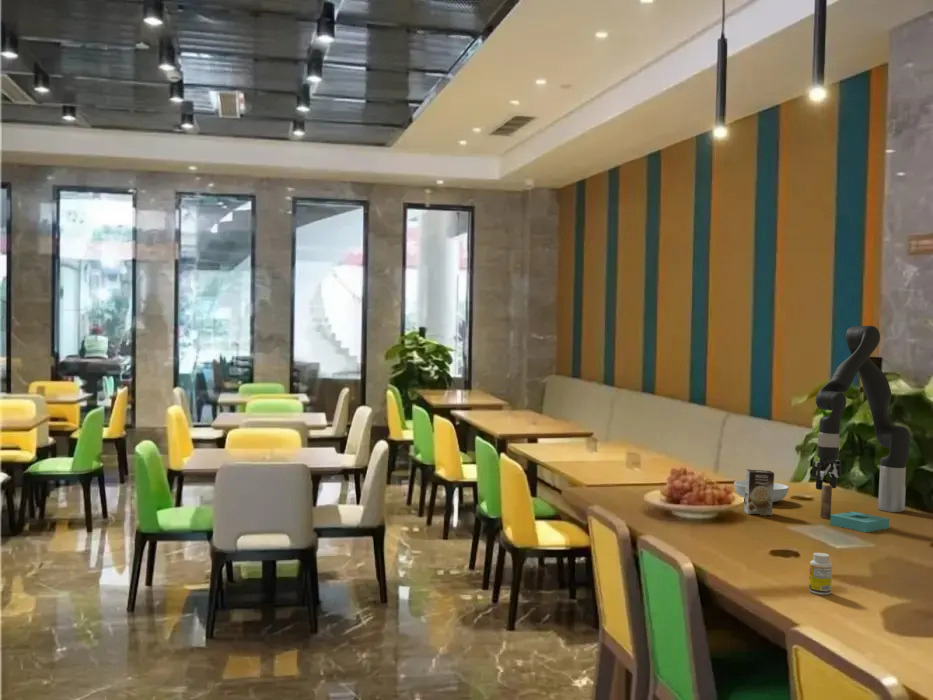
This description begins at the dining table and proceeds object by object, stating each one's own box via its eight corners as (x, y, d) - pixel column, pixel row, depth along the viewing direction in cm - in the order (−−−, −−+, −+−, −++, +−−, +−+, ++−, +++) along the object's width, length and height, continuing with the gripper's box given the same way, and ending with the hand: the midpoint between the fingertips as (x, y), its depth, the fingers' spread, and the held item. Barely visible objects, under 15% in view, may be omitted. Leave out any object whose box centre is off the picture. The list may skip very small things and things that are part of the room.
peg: (824, 516, 352) (825, 484, 352) (832, 518, 349) (834, 486, 349) (818, 517, 350) (819, 485, 350) (826, 519, 347) (828, 486, 347)
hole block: (853, 520, 346) (853, 511, 346) (888, 528, 334) (889, 518, 334) (830, 524, 338) (830, 514, 338) (866, 532, 326) (866, 522, 326)
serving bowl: (795, 507, 369) (796, 489, 369) (741, 505, 369) (742, 488, 369) (778, 497, 390) (779, 480, 389) (727, 495, 390) (728, 478, 390)
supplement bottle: (813, 588, 254) (814, 550, 254) (834, 592, 251) (835, 554, 250) (805, 592, 250) (807, 554, 250) (826, 596, 246) (828, 558, 246)
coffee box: (747, 514, 351) (749, 471, 351) (743, 511, 357) (745, 469, 357) (772, 516, 350) (774, 472, 350) (768, 512, 357) (770, 470, 356)
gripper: (831, 443, 356) (828, 485, 356) (807, 444, 348) (805, 488, 348) (849, 445, 350) (846, 489, 350) (825, 447, 342) (823, 491, 342)
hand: (826, 488), depth 349 cm, fingers open, 8 cm apart
